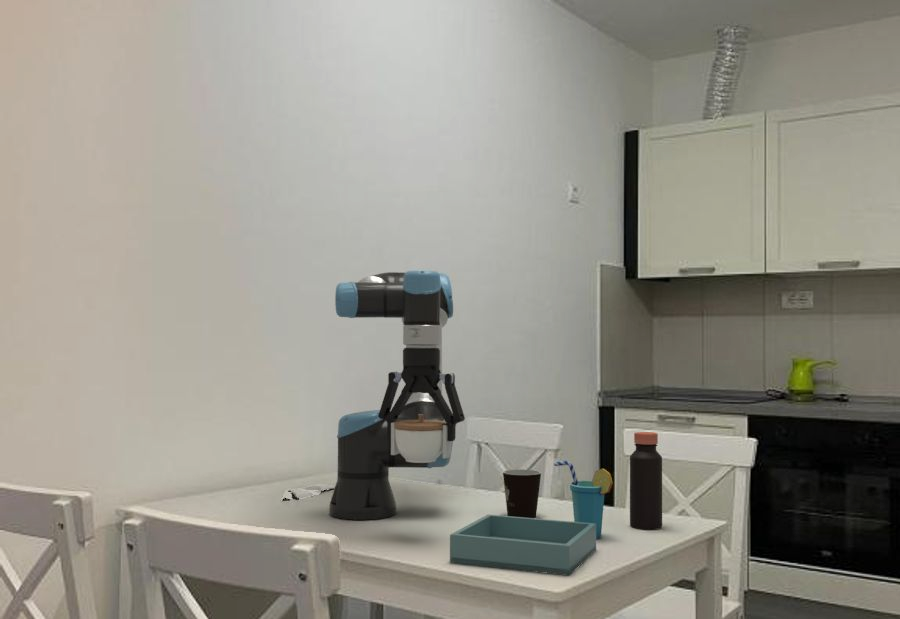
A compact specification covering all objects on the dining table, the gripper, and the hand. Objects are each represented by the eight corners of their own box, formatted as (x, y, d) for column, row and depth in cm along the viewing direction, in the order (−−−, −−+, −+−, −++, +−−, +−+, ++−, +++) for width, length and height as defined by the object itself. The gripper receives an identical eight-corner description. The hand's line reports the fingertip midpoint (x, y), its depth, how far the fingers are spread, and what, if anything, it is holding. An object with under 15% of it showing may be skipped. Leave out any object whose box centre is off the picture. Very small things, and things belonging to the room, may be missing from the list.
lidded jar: (428, 466, 176) (428, 418, 176) (383, 461, 181) (383, 415, 182) (457, 459, 185) (457, 413, 185) (413, 455, 190) (414, 410, 191)
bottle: (667, 529, 191) (667, 434, 192) (636, 530, 190) (636, 435, 191) (654, 523, 198) (654, 431, 199) (625, 523, 197) (625, 431, 197)
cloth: (319, 486, 248) (320, 477, 248) (358, 491, 240) (358, 482, 240) (249, 500, 226) (249, 491, 226) (289, 506, 218) (289, 497, 219)
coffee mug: (538, 521, 199) (539, 475, 199) (500, 519, 201) (500, 474, 201) (544, 511, 210) (544, 468, 211) (507, 509, 212) (507, 466, 212)
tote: (449, 562, 163) (450, 534, 163) (487, 539, 181) (487, 514, 181) (569, 575, 154) (569, 546, 154) (596, 549, 173) (596, 523, 173)
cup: (545, 534, 186) (545, 461, 186) (563, 528, 192) (563, 457, 193) (606, 544, 178) (606, 467, 178) (624, 537, 184) (624, 463, 184)
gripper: (362, 346, 184) (361, 454, 184) (468, 348, 176) (467, 461, 175) (378, 345, 191) (377, 450, 191) (481, 347, 183) (481, 456, 182)
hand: (420, 455), depth 183 cm, fingers closed on lidded jar, 11 cm apart
